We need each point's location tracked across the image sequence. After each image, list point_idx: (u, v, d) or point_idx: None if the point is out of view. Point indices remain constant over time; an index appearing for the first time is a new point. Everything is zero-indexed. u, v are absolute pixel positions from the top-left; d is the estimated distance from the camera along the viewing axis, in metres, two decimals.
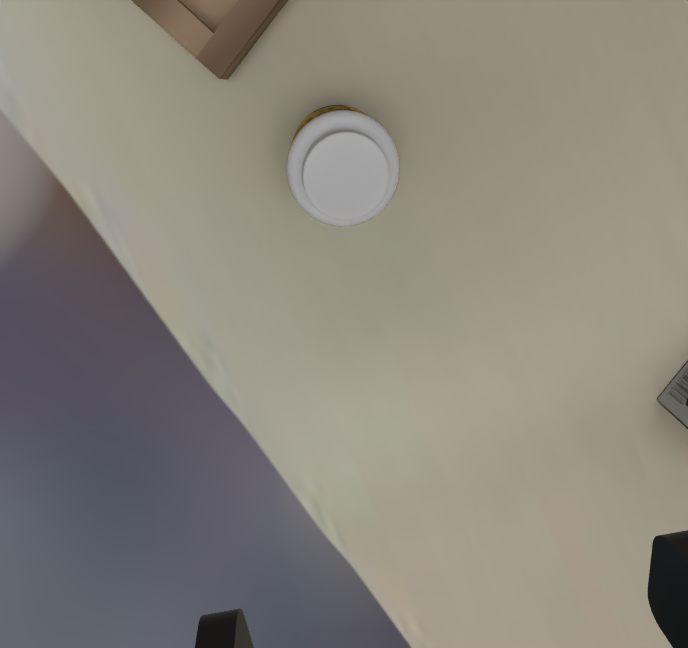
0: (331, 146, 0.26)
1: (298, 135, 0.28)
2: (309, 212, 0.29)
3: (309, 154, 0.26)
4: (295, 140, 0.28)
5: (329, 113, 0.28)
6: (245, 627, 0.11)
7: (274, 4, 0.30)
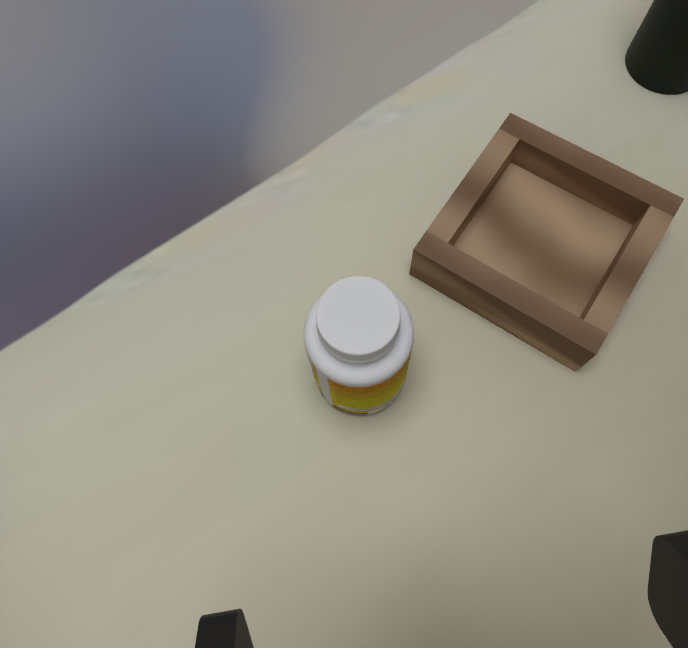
0: (384, 296, 0.27)
1: None
2: (315, 303, 0.30)
3: (374, 279, 0.28)
4: None
5: (408, 311, 0.30)
6: (245, 627, 0.11)
7: (480, 287, 0.35)
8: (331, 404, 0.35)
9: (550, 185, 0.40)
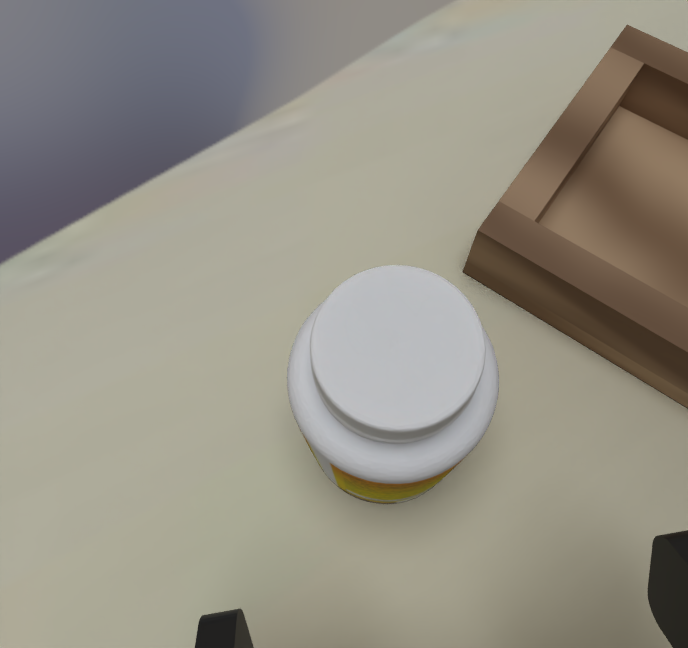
0: (453, 308, 0.13)
1: None
2: (310, 317, 0.16)
3: (431, 273, 0.14)
4: None
5: (488, 337, 0.16)
6: (245, 627, 0.11)
7: (591, 295, 0.21)
8: None
9: (683, 141, 0.26)
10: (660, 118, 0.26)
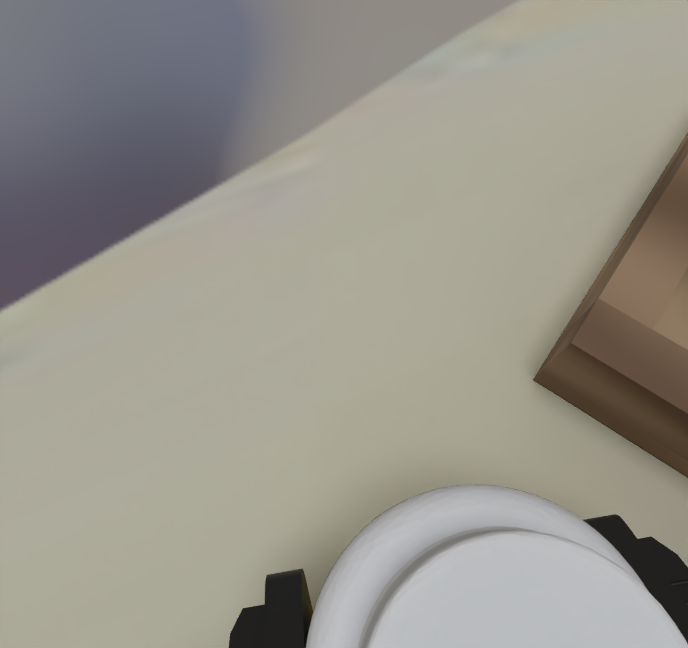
0: (643, 639, 0.07)
1: (568, 512, 0.09)
2: (344, 568, 0.09)
3: (588, 551, 0.07)
4: (552, 504, 0.09)
5: None
6: (306, 586, 0.12)
7: None
8: None
9: None
10: None
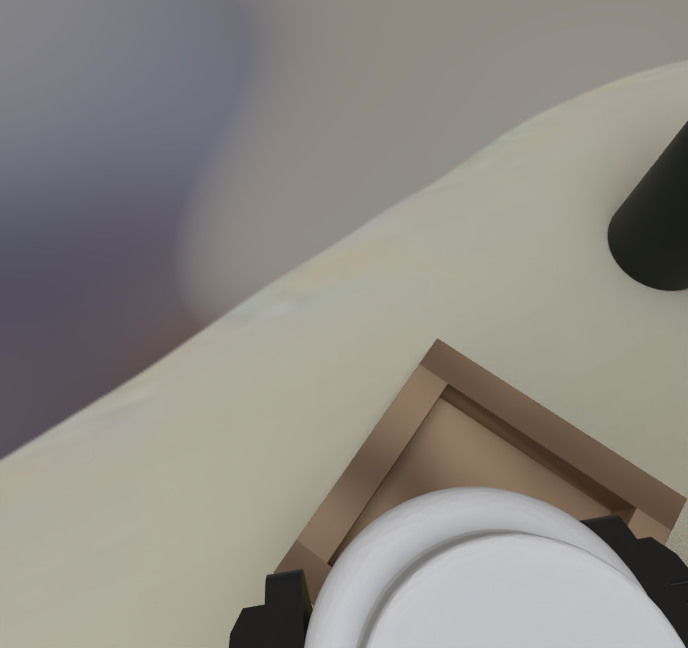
0: (641, 643, 0.07)
1: (566, 514, 0.09)
2: (342, 570, 0.09)
3: (586, 554, 0.07)
4: (551, 506, 0.09)
5: None
6: (306, 586, 0.12)
7: None
8: None
9: (494, 438, 0.27)
10: (473, 416, 0.27)
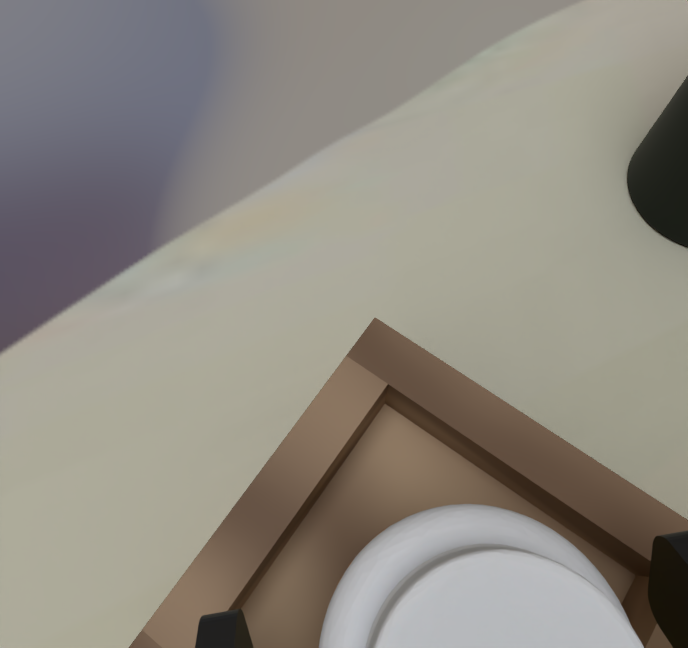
0: (605, 641, 0.08)
1: (548, 529, 0.11)
2: (352, 579, 0.10)
3: (560, 566, 0.08)
4: (535, 521, 0.11)
5: (624, 612, 0.10)
6: (245, 627, 0.11)
7: None
8: None
9: (462, 464, 0.19)
10: (431, 432, 0.19)
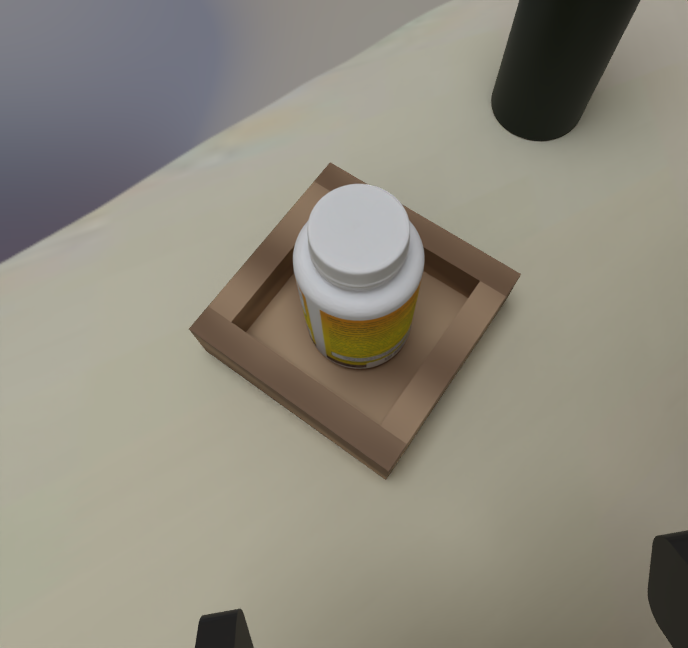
0: (391, 207, 0.23)
1: None
2: (307, 222, 0.25)
3: (379, 188, 0.23)
4: None
5: (418, 234, 0.25)
6: (245, 627, 0.11)
7: (261, 379, 0.28)
8: (324, 355, 0.30)
9: None
10: None
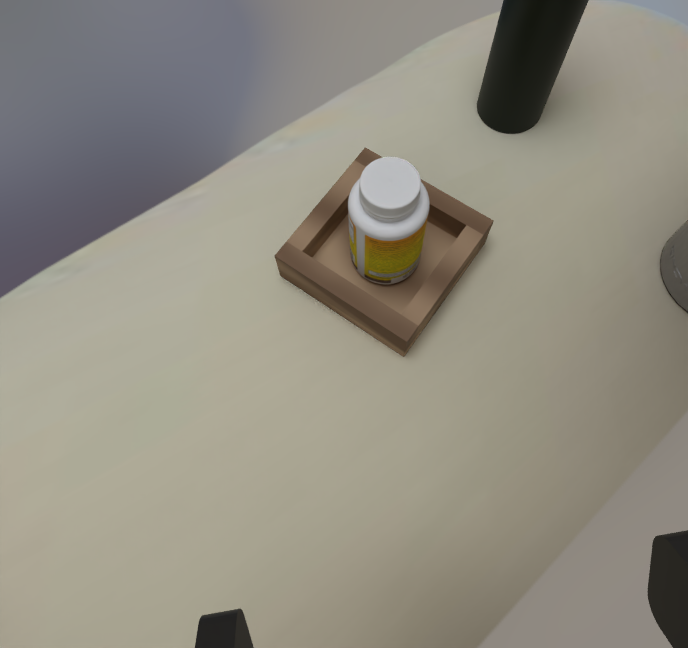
0: (409, 170, 0.38)
1: None
2: (356, 182, 0.40)
3: (402, 159, 0.38)
4: None
5: (425, 189, 0.40)
6: (245, 627, 0.11)
7: (323, 287, 0.44)
8: (362, 275, 0.46)
9: None
10: None
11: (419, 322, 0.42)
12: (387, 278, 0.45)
